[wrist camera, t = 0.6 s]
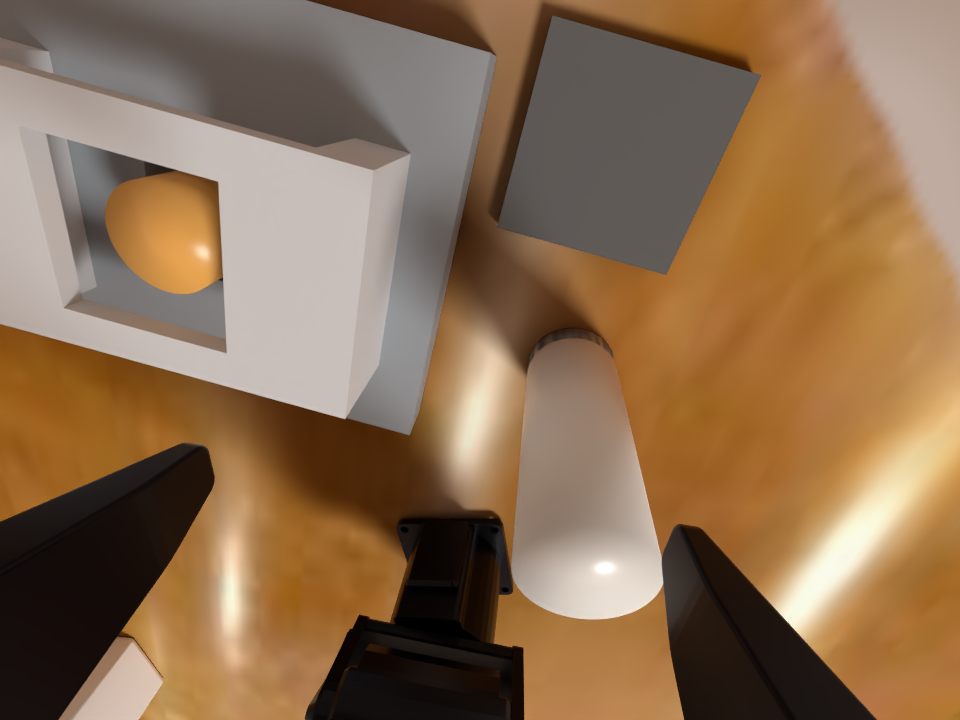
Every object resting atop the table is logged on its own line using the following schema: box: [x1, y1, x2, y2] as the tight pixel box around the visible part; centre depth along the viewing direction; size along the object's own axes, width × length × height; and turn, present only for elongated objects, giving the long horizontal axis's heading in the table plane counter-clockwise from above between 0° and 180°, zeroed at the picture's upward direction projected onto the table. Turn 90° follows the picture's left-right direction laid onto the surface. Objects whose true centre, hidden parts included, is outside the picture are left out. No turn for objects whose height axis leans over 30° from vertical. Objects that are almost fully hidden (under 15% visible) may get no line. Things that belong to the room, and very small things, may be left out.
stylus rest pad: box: [497, 15, 761, 275], centre depth 17 cm, size 7×7×1 cm
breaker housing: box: [0, 0, 497, 435], centre depth 18 cm, size 16×19×6 cm
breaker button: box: [105, 170, 223, 294], centre depth 17 cm, size 4×4×2 cm
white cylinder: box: [511, 328, 663, 619], centre depth 17 cm, size 4×4×11 cm
